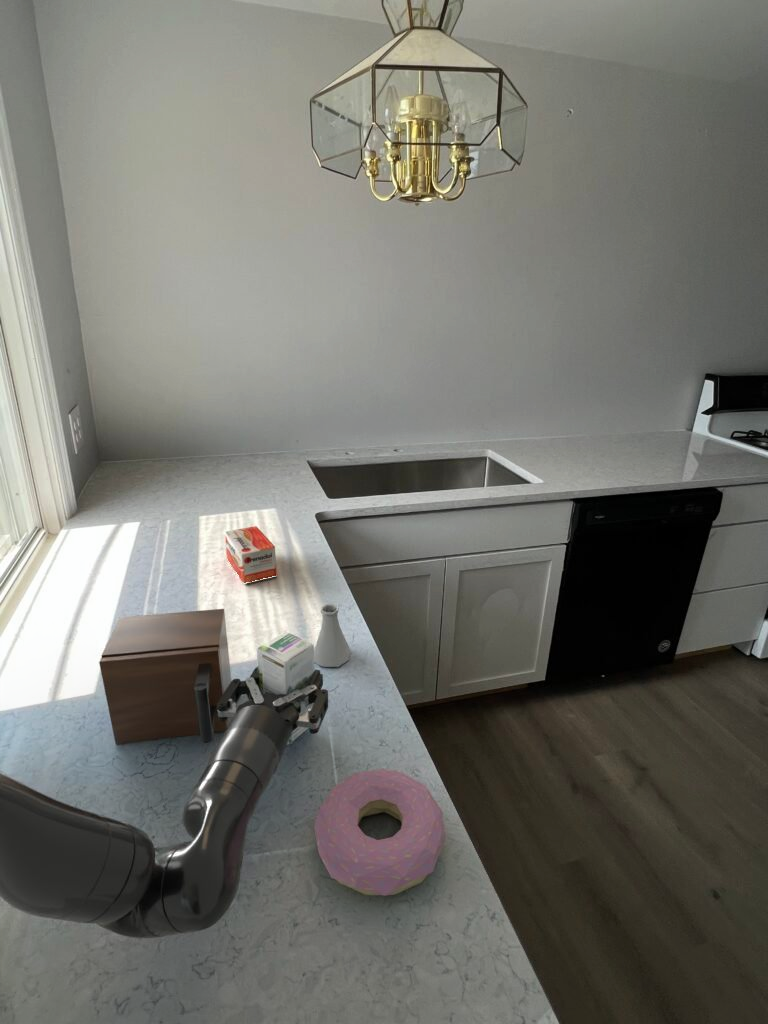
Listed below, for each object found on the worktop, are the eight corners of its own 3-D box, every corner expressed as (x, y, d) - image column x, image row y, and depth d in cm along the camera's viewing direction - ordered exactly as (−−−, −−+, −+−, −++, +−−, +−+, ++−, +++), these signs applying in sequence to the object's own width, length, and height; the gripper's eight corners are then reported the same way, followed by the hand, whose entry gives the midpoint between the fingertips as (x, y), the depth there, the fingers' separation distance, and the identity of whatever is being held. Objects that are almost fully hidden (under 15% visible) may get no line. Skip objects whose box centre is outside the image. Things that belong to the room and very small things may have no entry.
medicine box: (226, 560, 137) (223, 530, 134) (258, 553, 141) (256, 524, 138) (244, 586, 125) (241, 554, 122) (278, 578, 129) (276, 547, 126)
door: (223, 760, 78) (214, 676, 73) (104, 776, 75) (85, 689, 70) (227, 726, 84) (218, 646, 79) (117, 739, 81) (100, 657, 76)
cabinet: (227, 726, 84) (218, 644, 79) (117, 739, 81) (101, 655, 76) (231, 684, 93) (224, 608, 88) (133, 694, 91) (119, 617, 85)
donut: (470, 857, 65) (473, 826, 63) (361, 937, 57) (361, 903, 55) (392, 771, 77) (393, 742, 75) (292, 826, 68) (290, 796, 67)
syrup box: (288, 709, 86) (284, 628, 81) (317, 725, 83) (314, 642, 78) (261, 730, 82) (254, 646, 77) (290, 747, 79) (285, 661, 74)
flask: (340, 672, 97) (340, 623, 93) (303, 663, 99) (301, 614, 96) (356, 649, 103) (356, 602, 100) (321, 641, 106) (320, 595, 102)
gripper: (304, 737, 64) (338, 655, 79) (188, 721, 66) (243, 644, 81) (306, 787, 67) (338, 698, 82) (195, 770, 69) (246, 687, 84)
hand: (291, 671), depth 82 cm, fingers closed on syrup box, 7 cm apart
